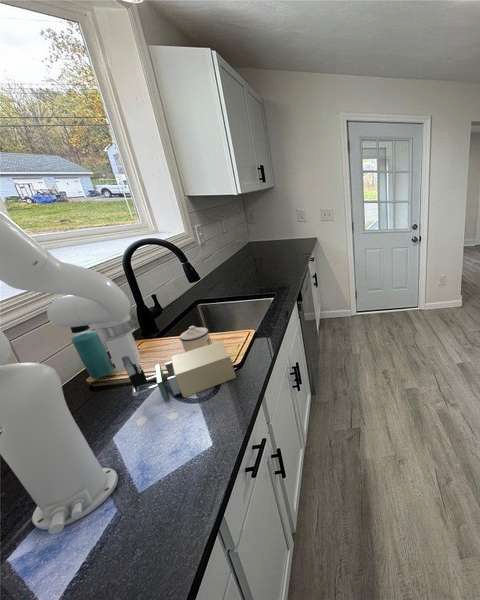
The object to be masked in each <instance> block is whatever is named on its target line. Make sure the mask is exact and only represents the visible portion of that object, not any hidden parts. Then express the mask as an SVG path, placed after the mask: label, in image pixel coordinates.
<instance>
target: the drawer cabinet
mask: <svg viewBox="0 0 480 600" xmlns="http://www.w3.org/2000/svg"><path fill="white" fill-rule="evenodd" d="M170 359H171V362H172V364H173V369H174V373H175V377H176V379H177V382H178V385H179V387H180V390H181V392H182V393H181V395H182V397H183V398H184V399H185V398H187V397H190V396H192V395H194V394H197V393H200V392H203V391H205V390H208V389H210V388H213V387H216V386H218V385H220V384H224V383H226V382H229V381H231V380H234V379H236V378H237V376H236V375H237V374H236V372H235V369H234V365H233V362H232V358H231V356H230V354H229V352H228V350H227V349H226V347H225V345H224V344H223V342H222V341H221V340H219V341H216V342H213V343H212V344H210V345H207V346H203V347H200V348H197V349H194V350H191V351H188V352H185V351H184V352H182V353H178V354H175V355H172V356H170Z"/></svg>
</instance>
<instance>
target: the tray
mask: <svg viewBox="0 0 480 600" xmlns="http://www.w3.org/2000/svg"><path fill="white" fill-rule="evenodd" d="M164 367H165V368H166V371H167V374H168V376H169V377H167V379H166V377H165V374H164V372H163V369H162V367H161V364H160V363H157V364H155V365H154V369H155V375H153V376H150V377H148V378H147V377H146V378H147V382H149V381H151V380H154V379H156V384H153V385H152V386H148V387H145V388H143V389H139V387H140V386H138V387H133V385H132V384H131V385H132V386H131V388H132V389H131V390H132V392H131V393H132V396H133V397H138V396H139V394H142V393H145V392H148V391H149V390H153V389H155V388H159V392H160V394H161V397H162V398H163V401H164V402H166V401H168V400H170V394H169V390H168V384H167V383H169V386H170V388H171V391H172V394H173V396H176V395H179V394H182V392H181V390H180V387H179V385H178V382H177V379H176V377H175V373H174V369H173V364H172V361H168V362H165V363H164ZM167 381H168V382H167Z"/></svg>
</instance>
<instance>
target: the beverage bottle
mask: <svg viewBox="0 0 480 600" xmlns="http://www.w3.org/2000/svg"><path fill="white" fill-rule="evenodd" d="M69 328H70V331H71V333H72V334H74V336H73V337H72V338H71V343H72V345H73V346H74V348H75V350H76V353H77V355H78V357H79V359H80V362H81V363H82V365H83V367H84V368H85V370H86V372H87V374H88V376H89V377H90V378H91V379H100V378H103V377H106V376H108V375H110V374H112V373H113V372H114V371H115V365H114V363H113V361H112V359H111V357H110V355H109V352H108V351H107V349H106V348H105V345H104V343H103V342H102V340H101V339H100V338H99V336H98V334H97V332H96V331H94V330H90V329H91V328H90V325H85V326H78V327H69Z"/></svg>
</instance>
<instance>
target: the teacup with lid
mask: <svg viewBox="0 0 480 600" xmlns="http://www.w3.org/2000/svg"><path fill="white" fill-rule="evenodd" d="M179 340H180V341H181V345H182V347H183V350H184V352H188V351H191V350H194V349H197V348H200V347H203V346H207V345H210V344H213V343H212V339H211V337H210V331H209V329H208V328H207V327H197V326H195V325H191V326H188V329H187V330H185V331H184V332H182V333H181V334H180V335H179Z"/></svg>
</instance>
